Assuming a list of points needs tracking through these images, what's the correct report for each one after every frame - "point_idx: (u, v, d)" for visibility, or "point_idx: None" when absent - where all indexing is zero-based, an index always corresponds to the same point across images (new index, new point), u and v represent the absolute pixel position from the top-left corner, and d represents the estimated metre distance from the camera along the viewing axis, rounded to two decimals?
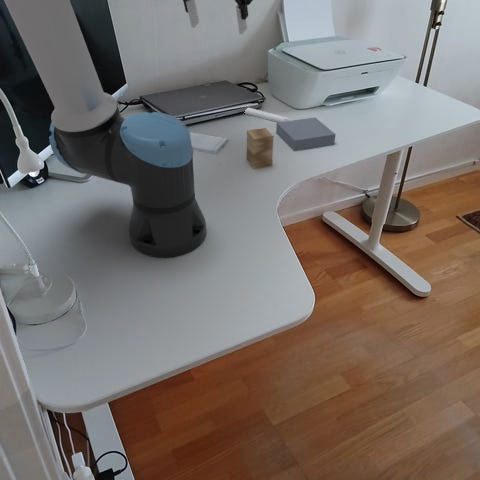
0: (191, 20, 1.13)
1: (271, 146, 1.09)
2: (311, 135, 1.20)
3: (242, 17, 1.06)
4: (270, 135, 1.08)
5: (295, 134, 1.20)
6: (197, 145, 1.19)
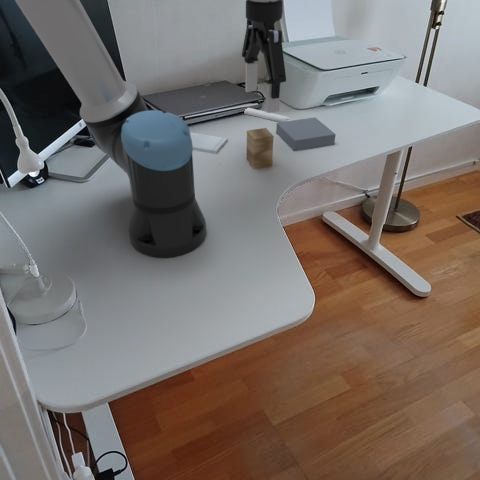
0: (246, 83, 1.08)
1: (271, 146, 1.09)
2: (311, 135, 1.20)
3: (271, 95, 0.96)
4: (270, 135, 1.08)
5: (295, 134, 1.20)
6: (197, 145, 1.20)
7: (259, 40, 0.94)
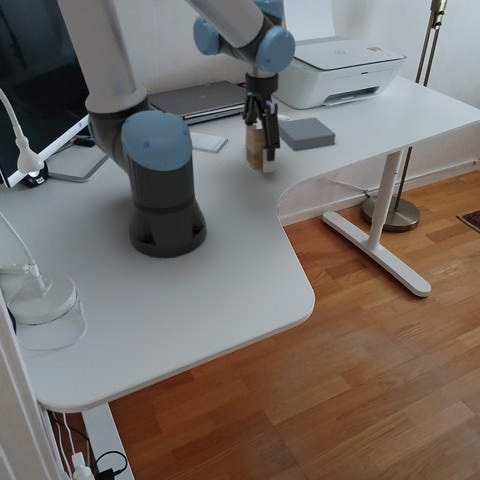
0: (246, 143, 1.17)
1: None
2: (311, 135, 1.20)
3: (267, 158, 1.06)
4: None
5: (295, 134, 1.20)
6: (197, 144, 1.20)
7: (257, 109, 1.03)
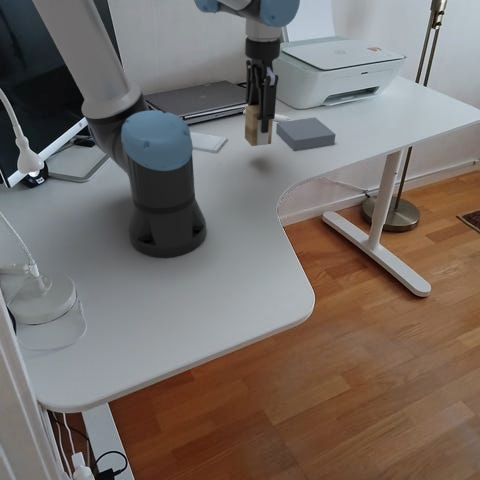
0: None
1: (270, 122, 1.05)
2: (311, 135, 1.20)
3: (261, 130, 1.05)
4: None
5: (295, 134, 1.20)
6: (197, 144, 1.20)
7: (256, 77, 0.99)
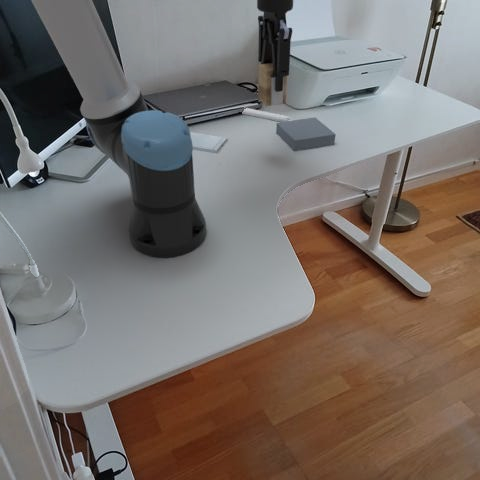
0: None
1: (285, 80, 1.02)
2: (311, 135, 1.20)
3: (275, 88, 1.02)
4: None
5: (295, 134, 1.20)
6: (197, 144, 1.20)
7: (269, 31, 0.95)
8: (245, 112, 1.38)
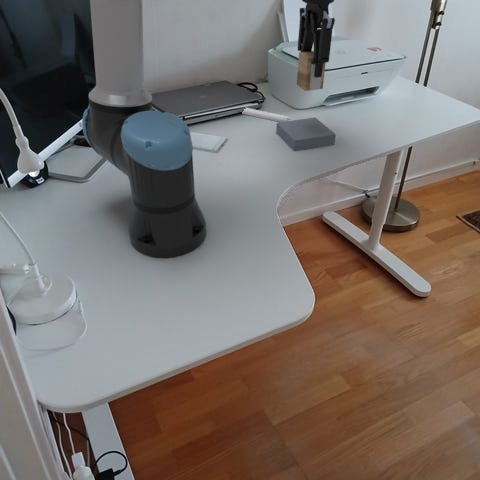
0: None
1: (323, 67, 1.12)
2: (311, 135, 1.20)
3: (315, 74, 1.11)
4: None
5: (295, 134, 1.20)
6: (197, 144, 1.20)
7: (312, 21, 1.05)
8: (245, 112, 1.38)
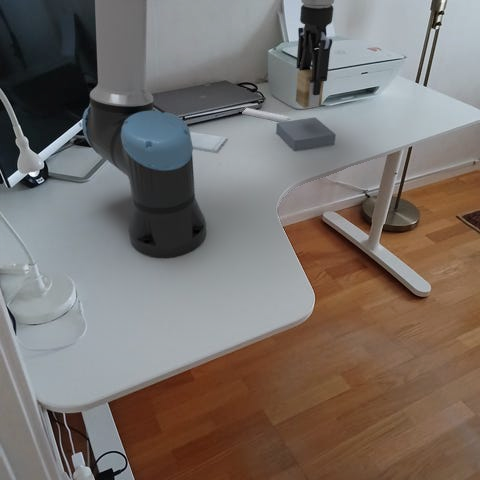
0: None
1: (321, 85, 1.14)
2: (311, 135, 1.20)
3: (313, 92, 1.14)
4: None
5: (295, 134, 1.20)
6: (197, 144, 1.20)
7: (310, 42, 1.08)
8: (245, 112, 1.38)
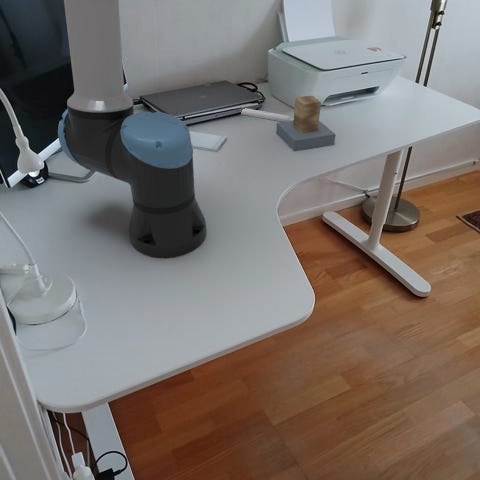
0: None
1: (318, 111, 1.19)
2: (311, 135, 1.20)
3: None
4: (318, 101, 1.17)
5: (295, 134, 1.20)
6: (197, 143, 1.20)
7: None
8: (245, 112, 1.37)
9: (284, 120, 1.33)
